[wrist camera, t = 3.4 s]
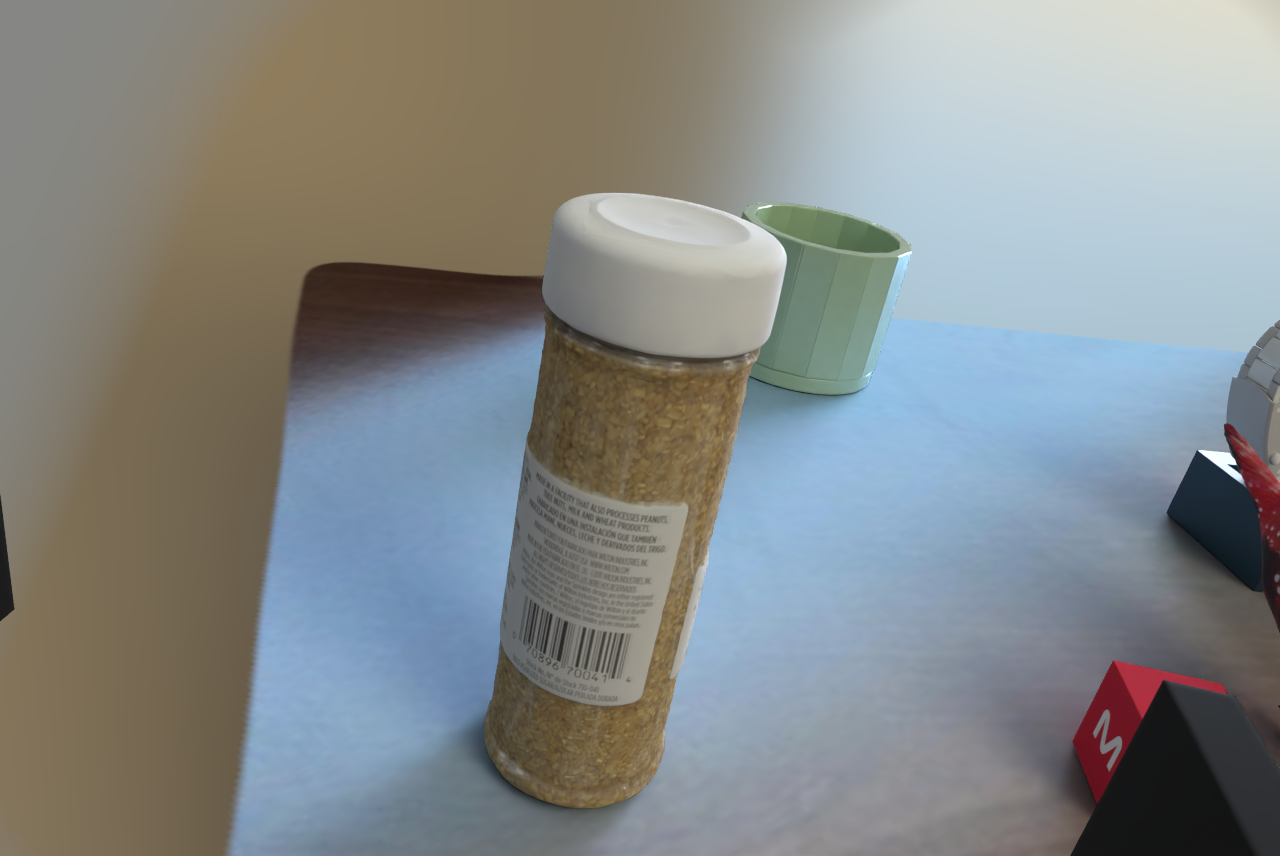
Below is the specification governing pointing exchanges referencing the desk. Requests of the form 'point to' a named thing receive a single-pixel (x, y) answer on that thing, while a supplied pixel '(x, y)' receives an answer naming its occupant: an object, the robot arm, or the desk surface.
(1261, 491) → the decorative bird figurine
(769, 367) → the holder
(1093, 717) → the red letter m cube
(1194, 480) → the watch
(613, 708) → the sprinkles bottle
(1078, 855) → the robot arm
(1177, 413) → the desk surface
